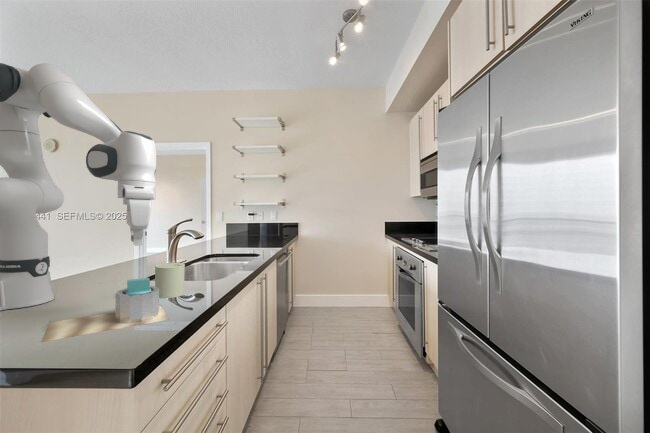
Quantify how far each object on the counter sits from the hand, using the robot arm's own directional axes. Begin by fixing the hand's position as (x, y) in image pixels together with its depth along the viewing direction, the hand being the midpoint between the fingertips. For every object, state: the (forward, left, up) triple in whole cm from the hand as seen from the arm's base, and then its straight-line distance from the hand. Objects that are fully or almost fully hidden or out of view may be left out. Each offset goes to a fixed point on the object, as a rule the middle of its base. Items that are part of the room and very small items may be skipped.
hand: (136, 243), depth 83 cm
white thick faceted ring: (+1, -1, -20) cm, 20 cm away
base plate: (-3, -5, -21) cm, 22 cm away
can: (-2, +20, -22) cm, 30 cm away
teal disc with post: (+1, -1, -14) cm, 14 cm away
